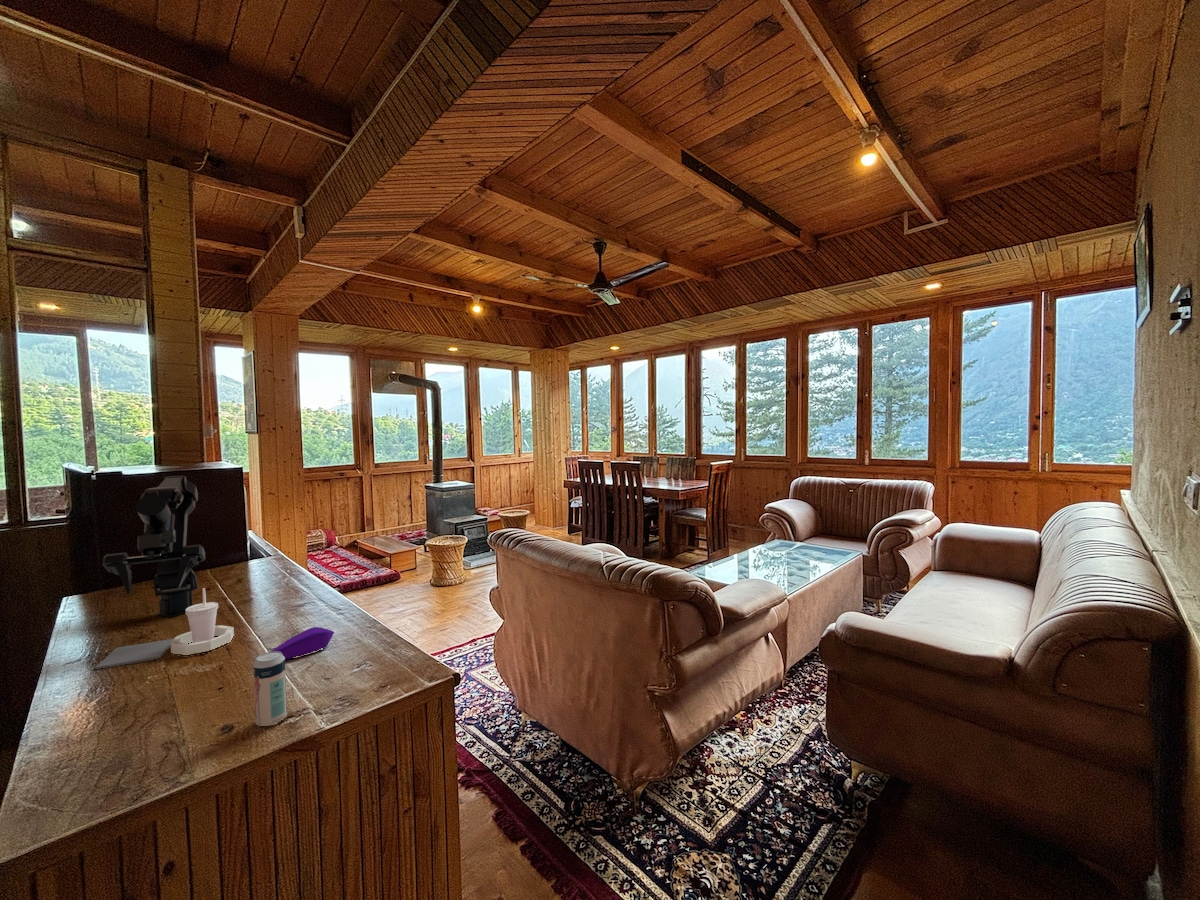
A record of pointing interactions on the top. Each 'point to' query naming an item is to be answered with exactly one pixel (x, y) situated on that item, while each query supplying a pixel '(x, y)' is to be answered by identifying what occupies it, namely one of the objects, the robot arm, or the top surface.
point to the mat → (135, 654)
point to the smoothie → (202, 619)
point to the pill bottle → (270, 688)
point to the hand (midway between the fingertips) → (153, 590)
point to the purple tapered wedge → (305, 642)
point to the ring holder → (184, 648)
